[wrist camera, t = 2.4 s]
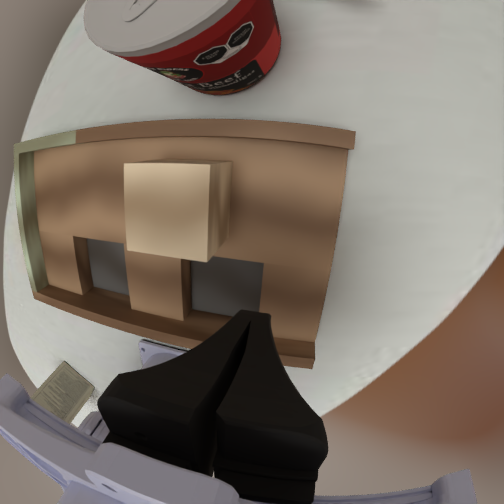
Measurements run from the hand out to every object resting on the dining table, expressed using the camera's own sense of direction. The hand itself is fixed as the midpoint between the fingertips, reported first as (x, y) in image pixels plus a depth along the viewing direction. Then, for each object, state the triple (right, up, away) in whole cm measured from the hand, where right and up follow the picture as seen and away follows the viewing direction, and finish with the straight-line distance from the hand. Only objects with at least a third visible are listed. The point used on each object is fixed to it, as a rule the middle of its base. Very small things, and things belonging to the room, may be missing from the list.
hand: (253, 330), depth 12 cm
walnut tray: (-8, +5, +10) cm, 14 cm away
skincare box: (-26, -16, +21) cm, 37 cm away
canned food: (-2, +18, +4) cm, 18 cm away
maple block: (-4, +7, +6) cm, 10 cm away
